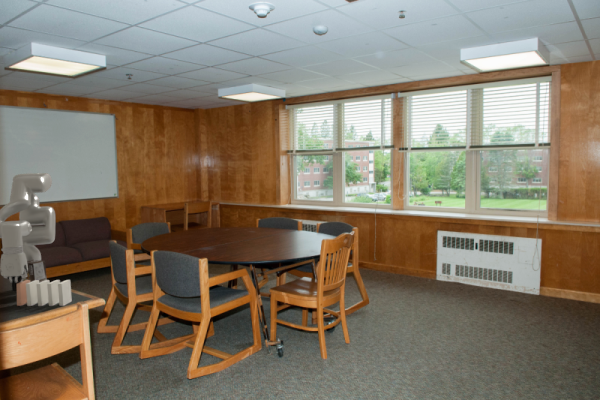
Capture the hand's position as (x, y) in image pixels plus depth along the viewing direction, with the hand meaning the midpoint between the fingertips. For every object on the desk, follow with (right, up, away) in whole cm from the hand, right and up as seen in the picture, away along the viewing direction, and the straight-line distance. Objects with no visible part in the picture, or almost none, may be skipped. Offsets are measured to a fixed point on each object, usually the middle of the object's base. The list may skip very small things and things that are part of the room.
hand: (16, 290), depth 187 cm
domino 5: (+23, -6, -1) cm, 24 cm away
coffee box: (-1, -5, +15) cm, 16 cm away
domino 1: (+3, -6, +1) cm, 7 cm away
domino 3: (+13, -6, 0) cm, 14 cm away
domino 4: (+18, -6, -1) cm, 19 cm away
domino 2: (+8, -6, 0) cm, 10 cm away
